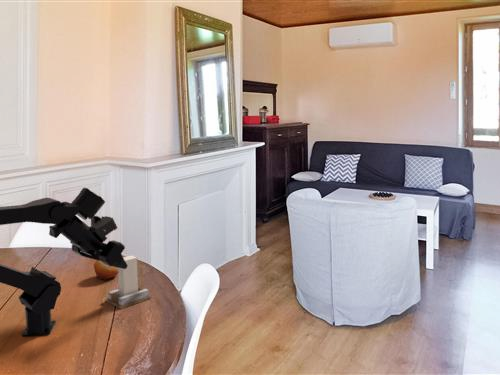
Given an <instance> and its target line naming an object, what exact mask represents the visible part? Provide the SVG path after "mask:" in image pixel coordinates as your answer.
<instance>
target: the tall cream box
mask: <svg viewBox="0 0 500 375" xmlns="http://www.w3.org/2000/svg"><path fill="white" fill-rule="evenodd" d="M123 258H124V260H125V262H126V264H127V265H128V267H127V268H126V269H122V268H118V274H117V275H118V277H117V278H118V280H117V281H118V289H119V295H120V296H121V297H122V296H125V295H128V294H131V293H134V292H137V291H138V285H139V280H138V257H136V256H134V255H127V256H123Z"/></svg>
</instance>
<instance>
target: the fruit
mask: <svg viewBox="0 0 500 375" xmlns="http://www.w3.org/2000/svg"><path fill="white" fill-rule="evenodd" d="M93 269H94V273H95V275H96V277H98V278H99V279H102V280H105V281H107V280H109V279H112V278H114V277H116V276H117V275H118V267H113V266H109V265H106V264H104V263H103V262H101V261H99V260H95V262H94V263H93Z"/></svg>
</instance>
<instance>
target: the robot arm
mask: <svg viewBox="0 0 500 375" xmlns="http://www.w3.org/2000/svg"><path fill="white" fill-rule="evenodd" d="M105 203H106V201H105V200H104V198H102V197H101V195H98V194H96V193H95V192H93V191H92V190H90V189H89V188H88V187H83V188H82V189H81V190H80V192H79V193H78V195H77V196H76V197H75V198H74V199H73V200H72V201H71V202H68V201H61V200H57V199H54V198H52V197H43V198H39V199H35V200H32V201H29V202H27V203H24V204H23V203H22V204H17V205H8V206H4V205H3V206H0V226H2V225H3V226H4V225H11V224H12V225H13V224H21V223H35V224H36V223H37V224H42V225H43V224H44V225H45V224H48V225H49V226H48V227H49V232H48V235H49V236H51V237H53V238H55V239H57V238H58V237H59V236H60V235H62V236H63V237H65V238H66V239H67V240H68V241H69V243H70V244H71V251H72V252H74V253H75V254H76V255H79V256H81V257H84V258H88V259H92V260H95V261H97V260H99V261H101V262H103V263H104V264H106V265H109V266H113V267H118V268H122V269H126V268H127V267H128V265H127V264H126V262H125V260H124V258H123V257H124V256H123V251H125V249H126V248H125V247H126V246H125V245H124V244H123V243H122V242H121V241H116V240H109V241H108V242H107V243H105V242H106V240H107V239H108V237H106V236H108V235H109V234H111V233H112V232H113V231H116V230H118V226H117V224H116V222H115V220H114V217H111V216H101V217H100V216H98V215H97V213H98V212H99V211H100V210H101V208H102V207H103V206H104V205H105ZM88 219H89V220H90V226H89V225H88V224H86V223H85V222H84V221H83V220H85V221H86V220H88ZM56 279H57V277H56V276H55V275H52V274H51V273H49V272H48V271H46V270H39V269H37V268H36V267H34V266H31V269H30V270H29V271H24V270H23V271H22V270H20V269H16V268H14V267H11V266H7V265H6V264H2V263H0V283H1V284H4V285H7V286H9V287H13V288H17V289H19V290H21V291H23V292H22V293H21V294H20V295H19V297H18V300H19V303H20V304H21V305H23V306H24V307H25V308H24V312H25V325H26V327H25V328H24V330H23V332H22V333H21V337H32V336H33V337H34V336H45V335H50V334H52V331H53V329H54V328H55V325H56V323H57V321H56V320H52V310H54V309H55V306H56V304H57V300H58V298H59V296H60V294H61V292H62V285H61V283H60V282H59V281H58V280H56Z"/></svg>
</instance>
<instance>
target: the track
mask: <svg viewBox="0 0 500 375" xmlns="http://www.w3.org/2000/svg"><path fill="white" fill-rule="evenodd" d="M107 293H108V297H107V298H105V300H106V302H108V303H110V304H112V305H113V306H116V307H117V308H118V309H120V310H123V309H125V308H127V307H130V306H133V305H136V304H139V303H141V302H145V301H147V300H151V299H152V296H151V295H149V289H147V288H145V287H143V286H141V285H139V284H138V291H137V292H134V293H131V294H128V295H125V296H122V297H121V296H120V295H119V288H117V289H113V290H111V291H108V292H107Z"/></svg>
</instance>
